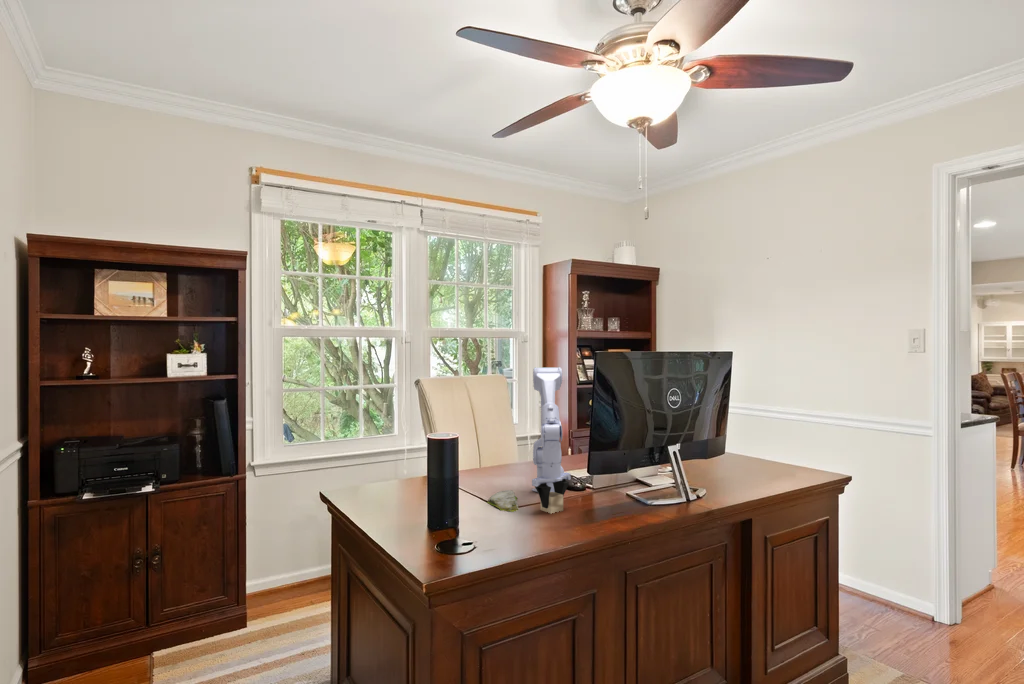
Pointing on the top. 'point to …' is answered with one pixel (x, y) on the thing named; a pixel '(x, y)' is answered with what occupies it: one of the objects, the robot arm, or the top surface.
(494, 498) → the decorative stone
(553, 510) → the beech block
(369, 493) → the top surface
